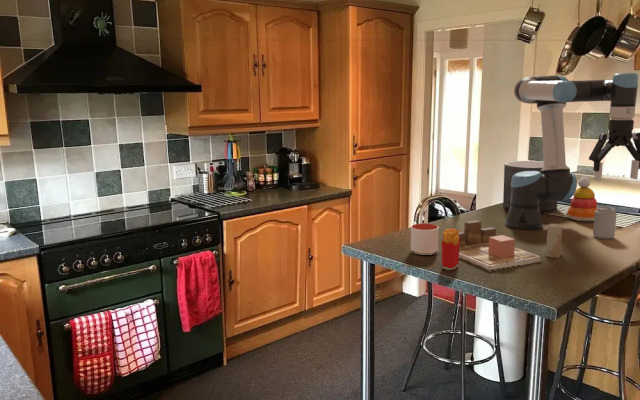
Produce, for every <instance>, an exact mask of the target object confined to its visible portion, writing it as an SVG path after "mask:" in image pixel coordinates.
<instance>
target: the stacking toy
mask: <svg viewBox="0 0 640 400" xmlns="http://www.w3.org/2000/svg"><path fill="white" fill-rule="evenodd" d="M577 185H578V186H579V187H577V188H576V191H575V193H574V195H573V196H572V197H573V198H571V200H570V206H569V208H568V209H567V212H566V213H565V215H566V218H568V219H571V220H574V221H576V222H594V216H595V211H596V210H597V207H598V202H597V199H596V197H595V195H596V194H595V192H594V191H593V189H591V188H590V185H591V180H590V178H589V177H588V176H582V177H581V178H579V180H578V181H577Z"/></svg>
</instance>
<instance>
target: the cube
mask: <svg viewBox="0 0 640 400" xmlns="http://www.w3.org/2000/svg"><path fill="white" fill-rule="evenodd" d="M515 244H516V239H515V238H513V237H509V236H507V235H503V234H501V235H500V234H499V235H496V236H494V237H489V251H488V254H490V255H493V256H495V257H498V258H506V257H511V256H514V250H515V248H516V247H515V246H516V245H515Z"/></svg>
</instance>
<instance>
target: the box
mask: <svg viewBox="0 0 640 400" xmlns="http://www.w3.org/2000/svg"><path fill="white" fill-rule="evenodd" d="M563 226H564V225H563V224H557V223H549V224H548V225H547V233H546V250H545V257H548V258H549V257H550V258H554V259H556V258H557V259H559V258H560V256H561V252H562V241H563V240H562V238H563Z"/></svg>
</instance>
